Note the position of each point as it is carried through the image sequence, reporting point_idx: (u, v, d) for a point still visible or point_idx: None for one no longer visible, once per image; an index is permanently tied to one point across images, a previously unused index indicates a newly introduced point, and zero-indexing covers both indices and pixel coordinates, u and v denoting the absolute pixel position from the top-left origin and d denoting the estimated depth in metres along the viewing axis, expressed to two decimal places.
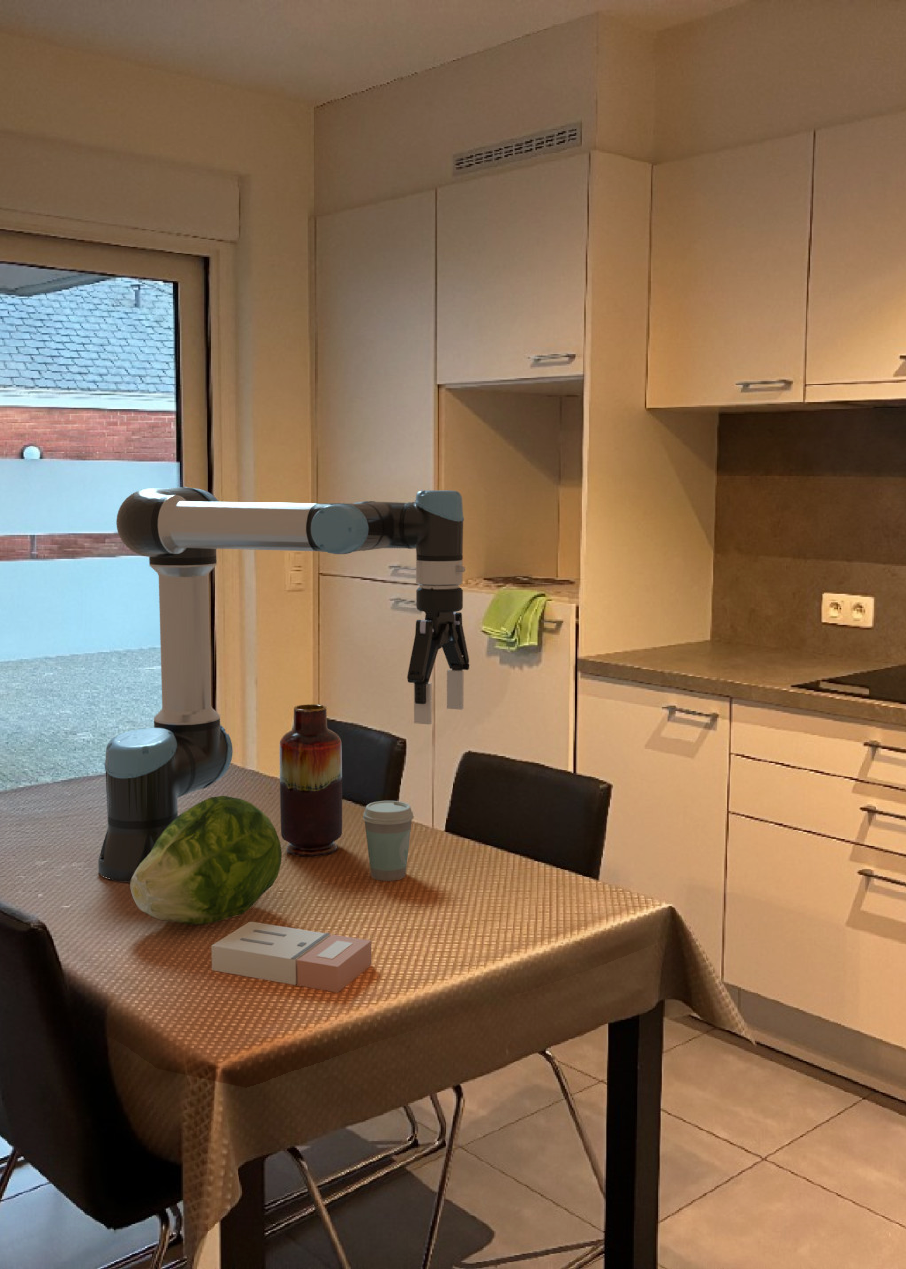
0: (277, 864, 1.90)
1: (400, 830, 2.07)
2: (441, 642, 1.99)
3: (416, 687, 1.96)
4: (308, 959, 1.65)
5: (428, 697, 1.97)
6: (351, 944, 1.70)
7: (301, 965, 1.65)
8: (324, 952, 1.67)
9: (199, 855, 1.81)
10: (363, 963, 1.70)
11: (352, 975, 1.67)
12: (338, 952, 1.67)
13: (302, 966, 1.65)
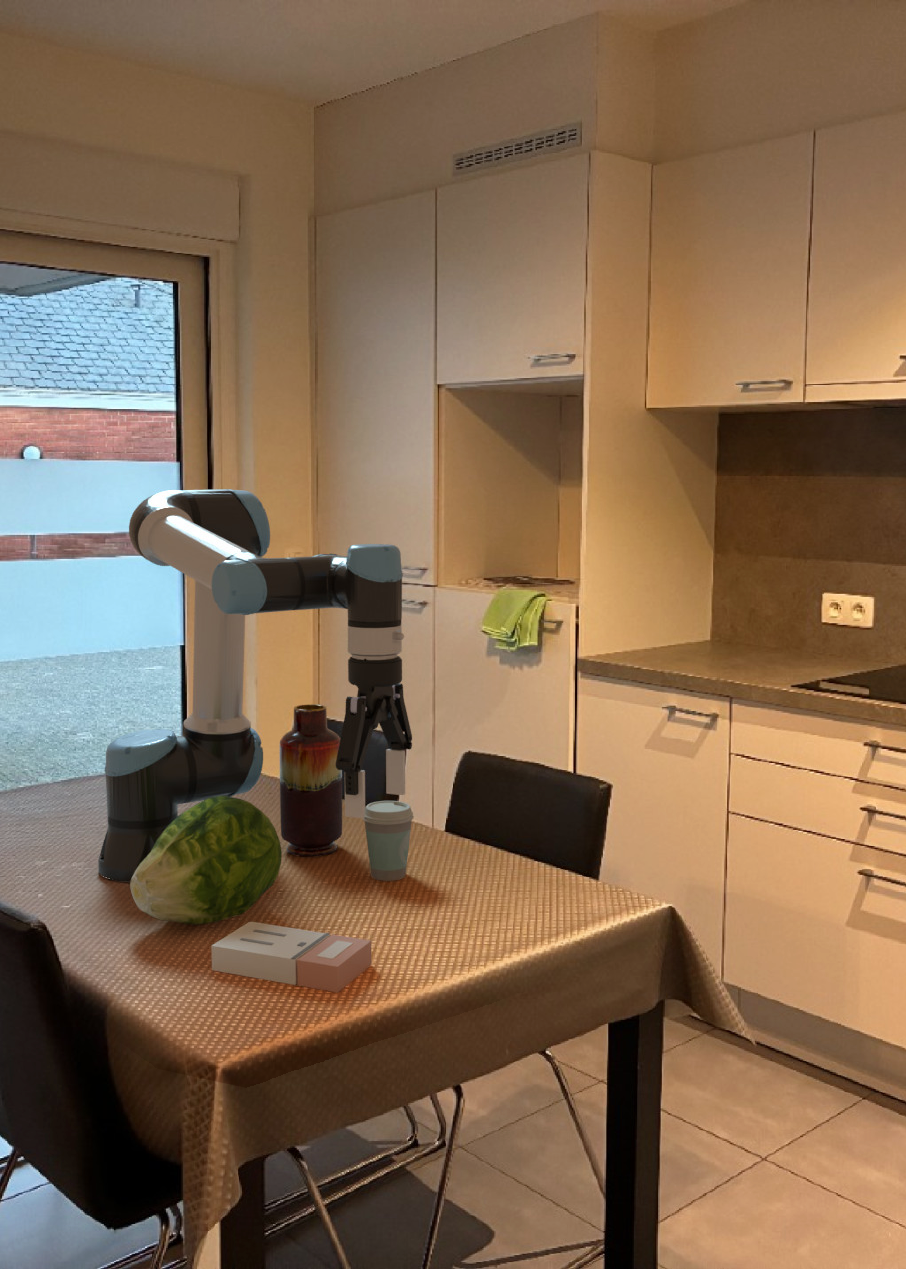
0: (277, 864, 1.90)
1: (400, 830, 2.07)
2: (376, 721, 1.71)
3: (346, 775, 1.68)
4: (308, 959, 1.65)
5: (361, 787, 1.69)
6: (351, 944, 1.70)
7: (301, 965, 1.65)
8: (324, 952, 1.67)
9: (199, 855, 1.81)
10: (363, 963, 1.70)
11: (352, 975, 1.67)
12: (338, 952, 1.67)
13: (302, 966, 1.65)
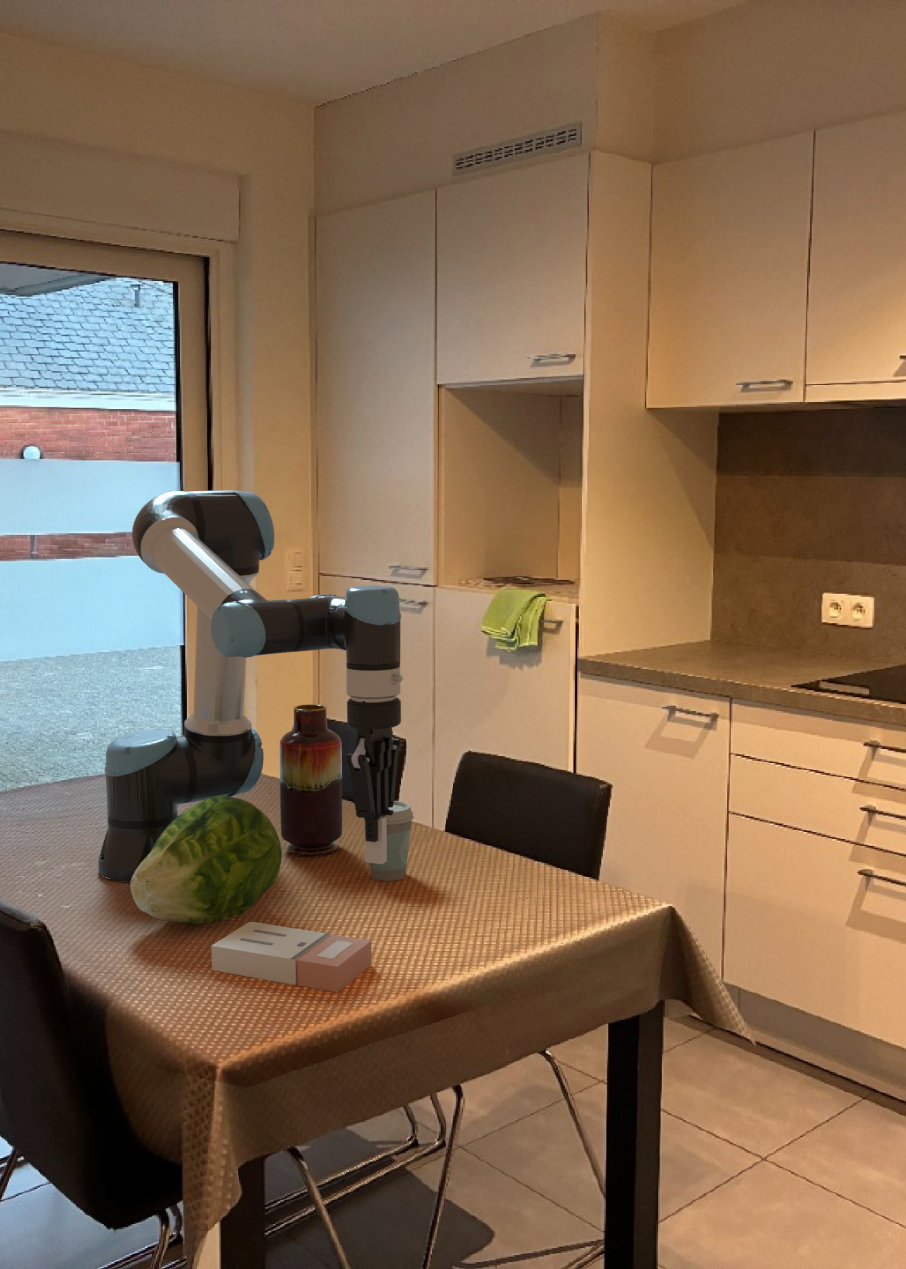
0: (277, 864, 1.90)
1: (400, 830, 2.07)
2: (381, 766, 1.73)
3: (366, 823, 1.75)
4: (308, 959, 1.65)
5: (380, 834, 1.75)
6: (351, 944, 1.70)
7: (301, 965, 1.65)
8: (324, 952, 1.67)
9: (199, 855, 1.81)
10: (363, 963, 1.70)
11: (352, 975, 1.67)
12: (338, 952, 1.67)
13: (302, 966, 1.65)
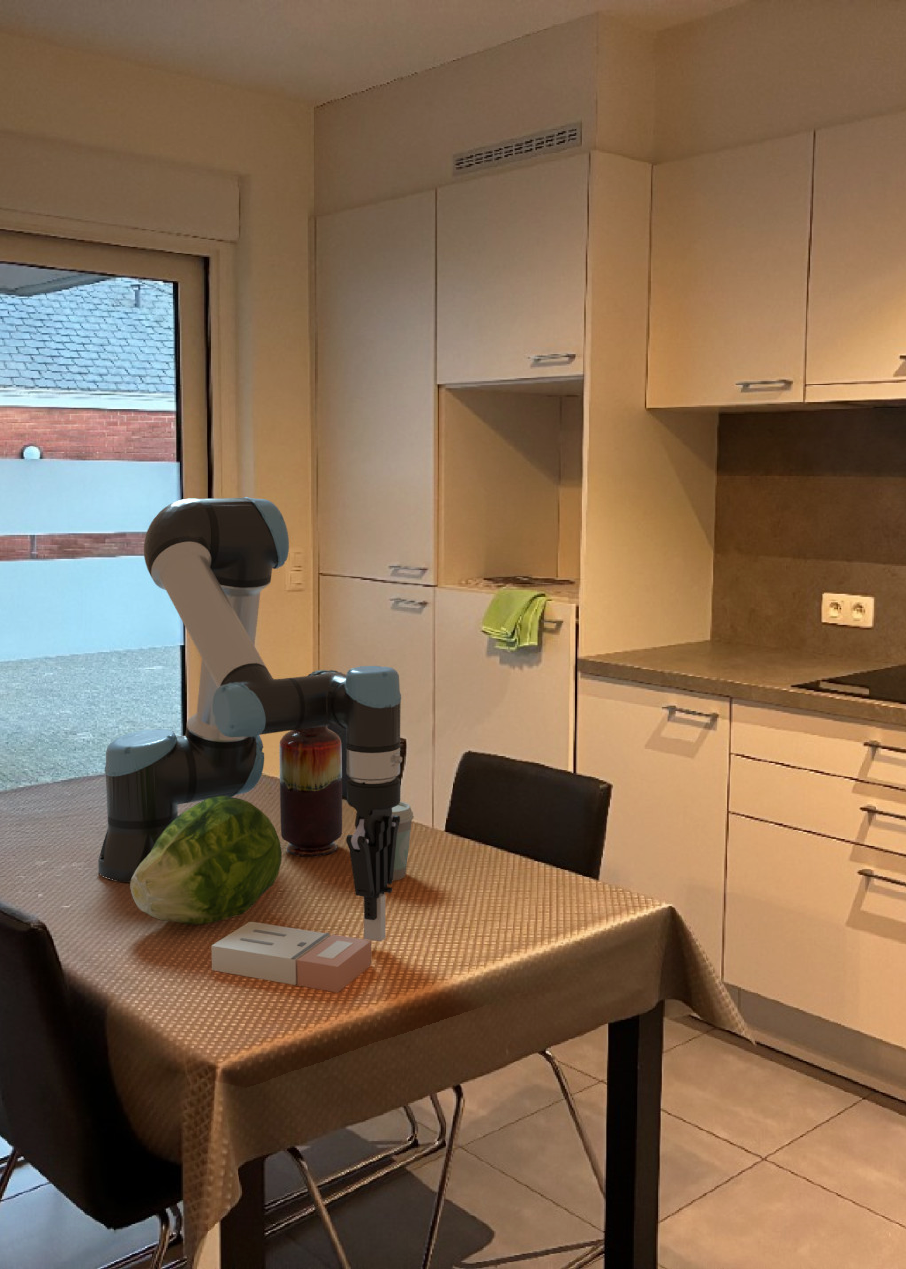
0: (277, 864, 1.90)
1: (400, 830, 2.07)
2: (380, 846, 1.75)
3: (365, 901, 1.76)
4: (308, 959, 1.65)
5: (379, 912, 1.77)
6: (351, 944, 1.70)
7: (301, 965, 1.65)
8: (324, 952, 1.67)
9: (199, 855, 1.81)
10: (363, 963, 1.70)
11: (352, 975, 1.67)
12: (338, 952, 1.67)
13: (302, 966, 1.65)
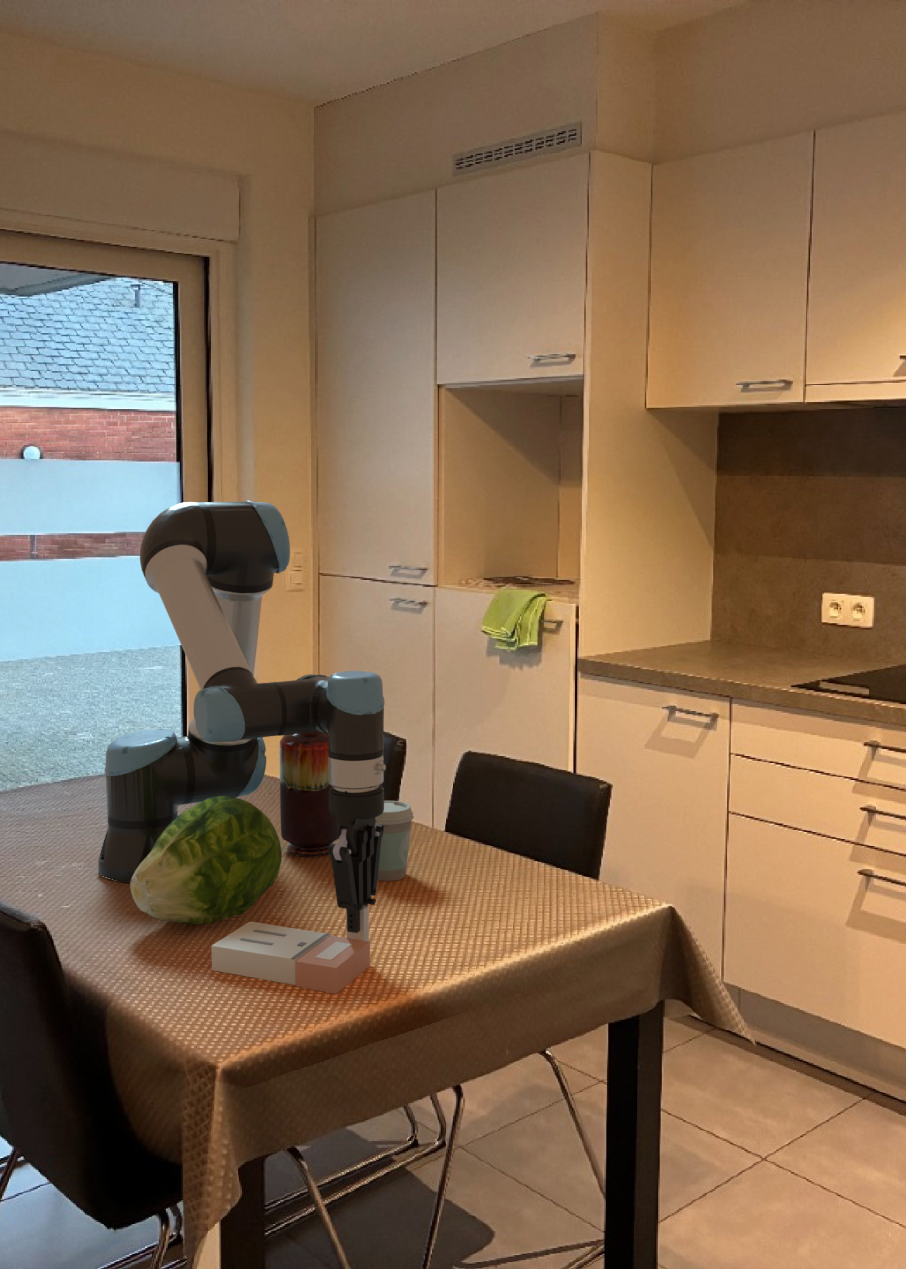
0: (277, 864, 1.90)
1: (400, 830, 2.07)
2: (363, 856, 1.70)
3: (348, 914, 1.71)
4: (306, 960, 1.65)
5: (362, 924, 1.72)
6: (349, 945, 1.70)
7: (299, 966, 1.65)
8: (322, 953, 1.67)
9: (199, 855, 1.81)
10: (362, 964, 1.70)
11: (350, 976, 1.67)
12: (336, 953, 1.67)
13: (300, 967, 1.64)
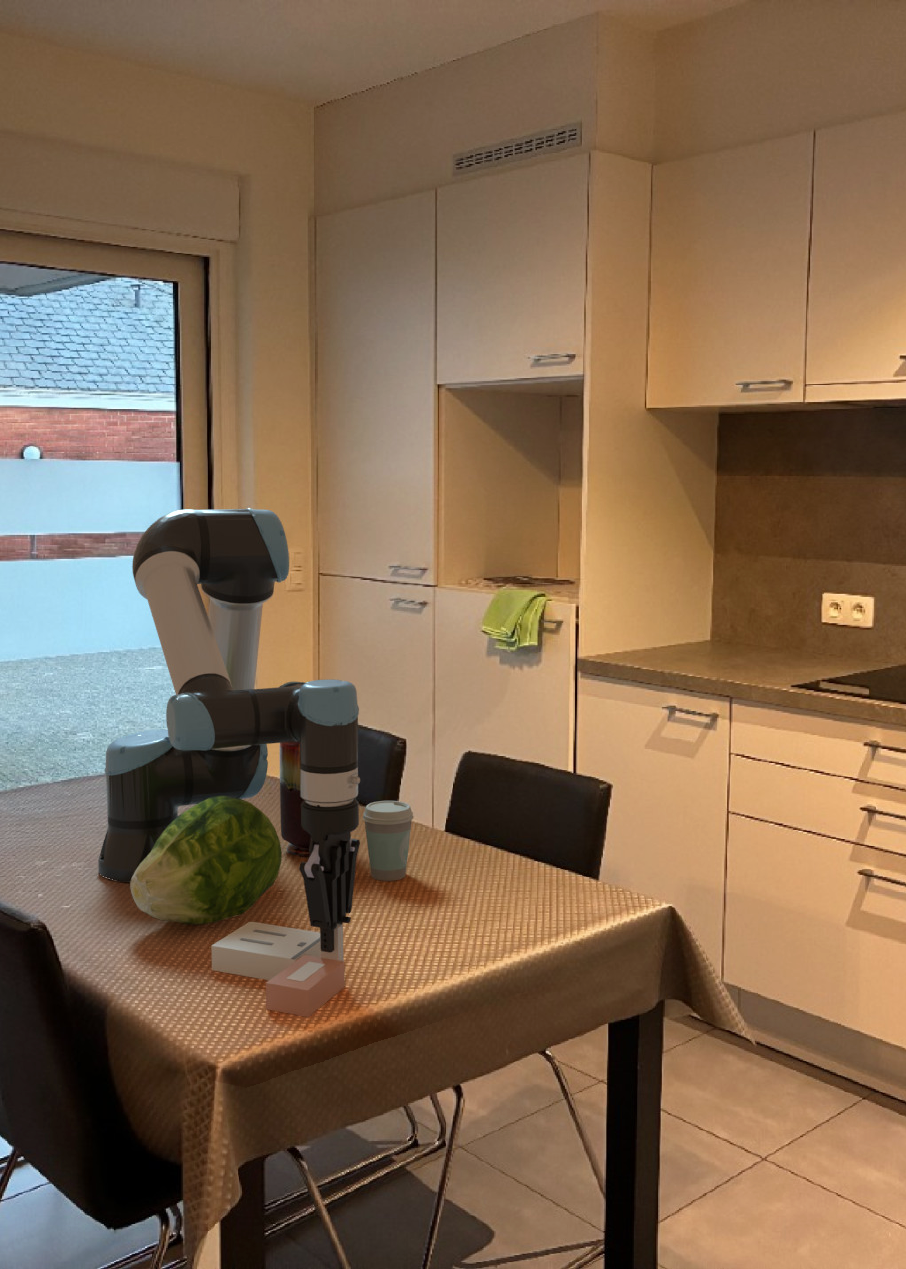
0: (277, 864, 1.90)
1: (400, 830, 2.07)
2: (337, 873, 1.63)
3: (322, 933, 1.64)
4: (277, 982, 1.58)
5: (336, 943, 1.65)
6: (323, 965, 1.63)
7: (270, 988, 1.58)
8: (294, 974, 1.60)
9: (199, 855, 1.81)
10: (336, 985, 1.63)
11: (323, 998, 1.60)
12: (309, 974, 1.60)
13: (271, 989, 1.57)
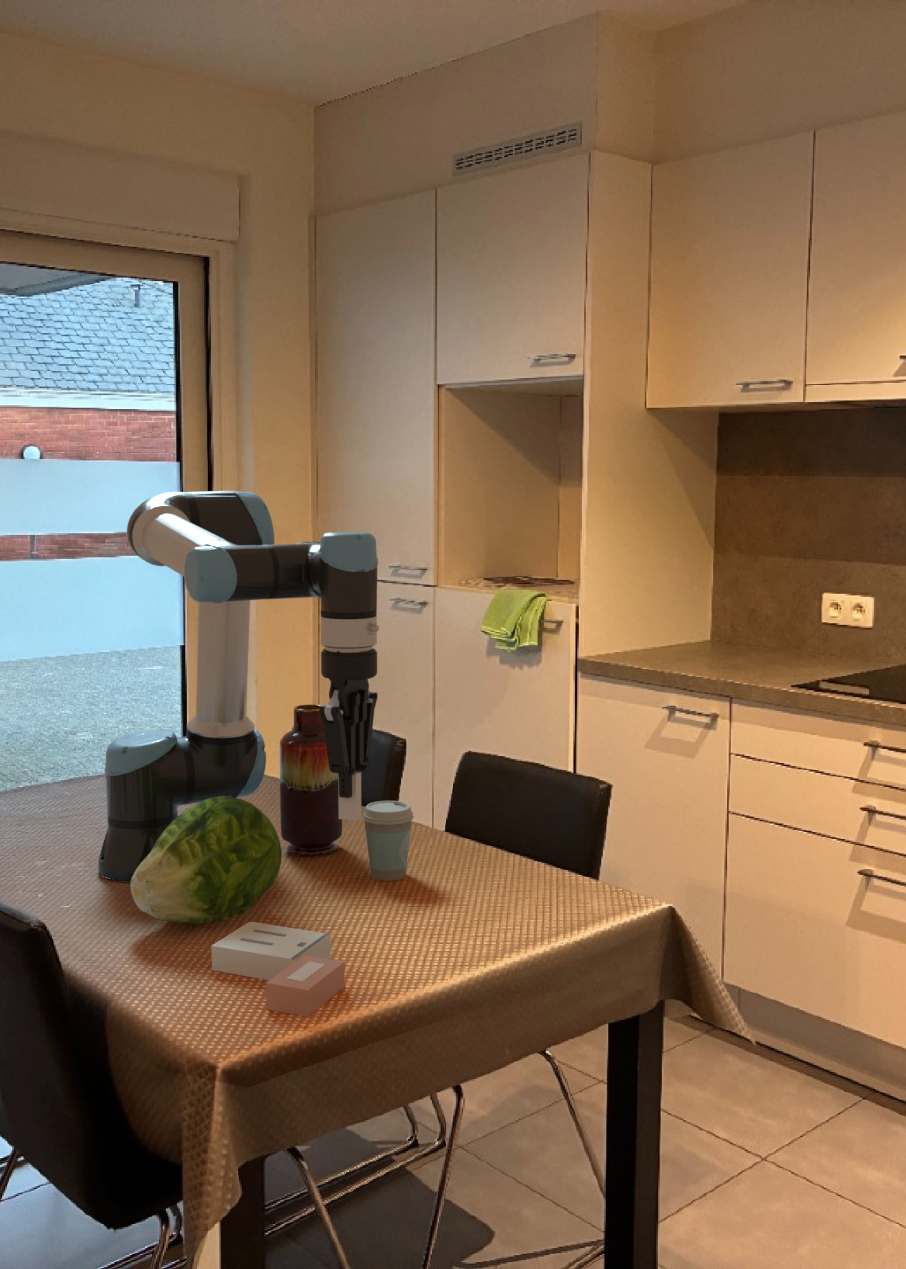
0: (277, 864, 1.90)
1: (400, 830, 2.07)
2: (356, 719, 1.67)
3: (340, 778, 1.68)
4: (277, 982, 1.58)
5: (354, 790, 1.69)
6: (323, 965, 1.63)
7: (270, 988, 1.58)
8: (294, 974, 1.60)
9: (199, 855, 1.81)
10: (336, 985, 1.63)
11: (324, 998, 1.60)
12: (309, 974, 1.60)
13: (271, 989, 1.57)
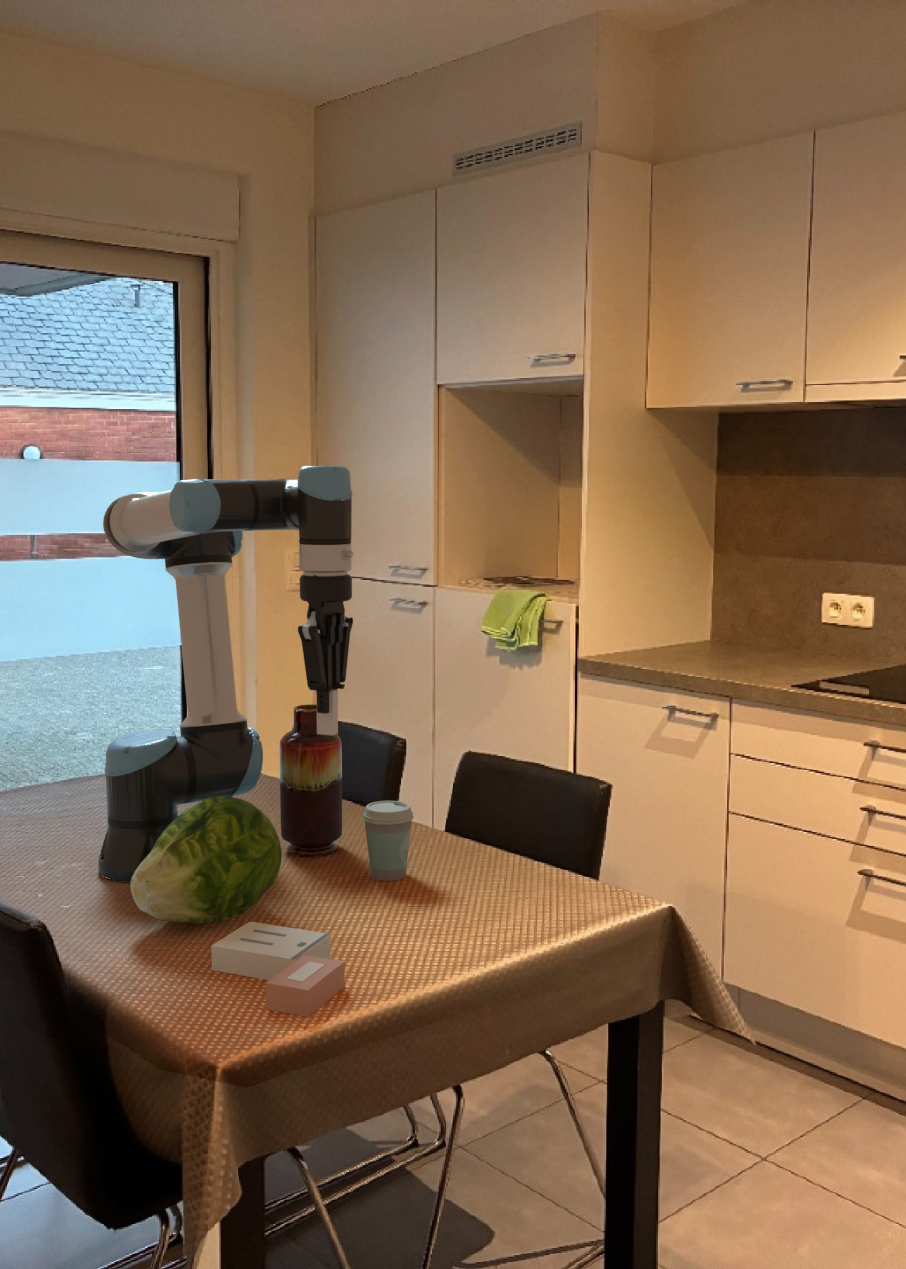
0: (277, 864, 1.90)
1: (400, 830, 2.07)
2: (332, 639, 1.80)
3: (318, 695, 1.81)
4: (277, 982, 1.58)
5: (331, 706, 1.82)
6: (323, 965, 1.63)
7: (270, 988, 1.58)
8: (294, 974, 1.60)
9: (199, 855, 1.81)
10: (336, 985, 1.63)
11: (324, 998, 1.60)
12: (309, 974, 1.60)
13: (271, 989, 1.57)
